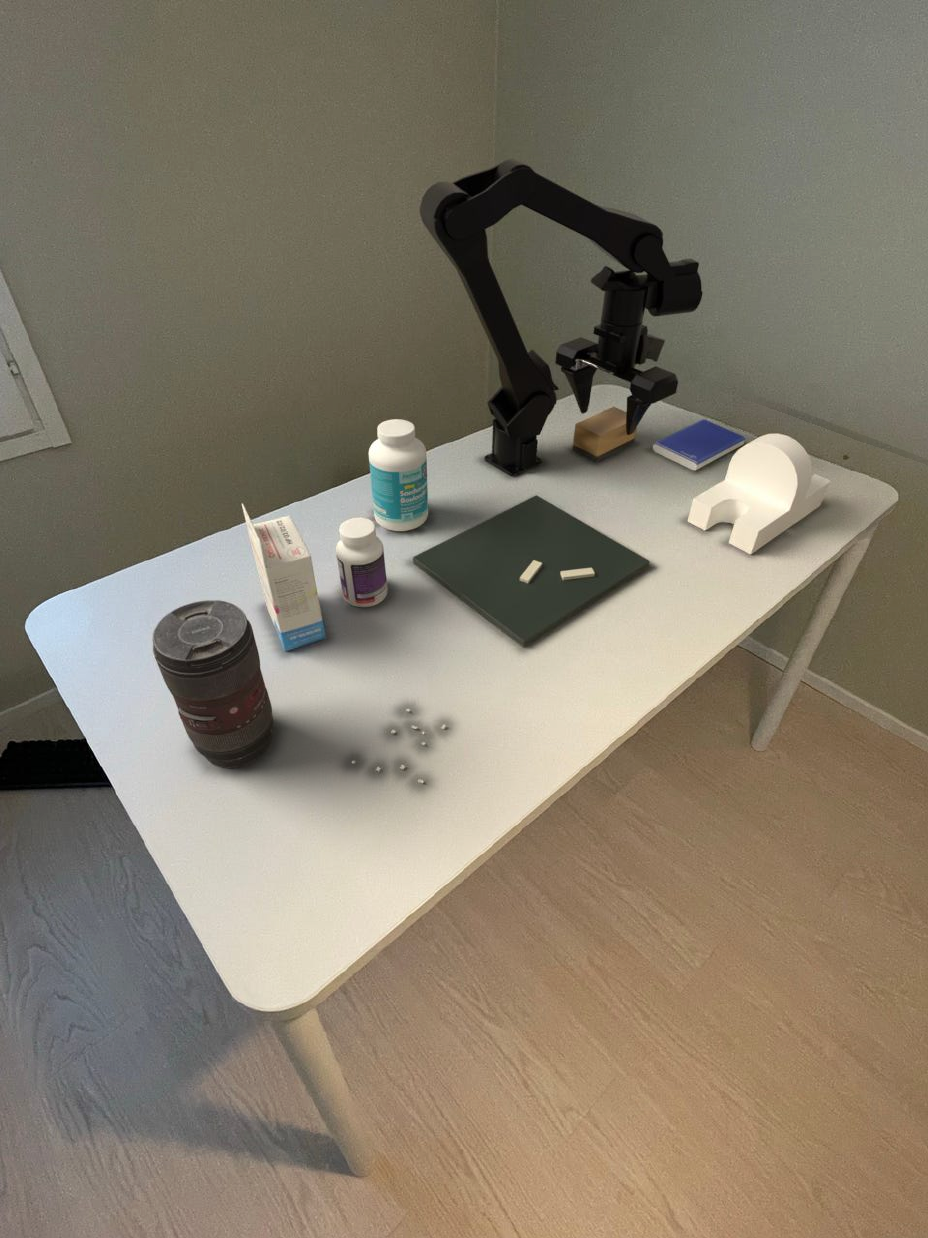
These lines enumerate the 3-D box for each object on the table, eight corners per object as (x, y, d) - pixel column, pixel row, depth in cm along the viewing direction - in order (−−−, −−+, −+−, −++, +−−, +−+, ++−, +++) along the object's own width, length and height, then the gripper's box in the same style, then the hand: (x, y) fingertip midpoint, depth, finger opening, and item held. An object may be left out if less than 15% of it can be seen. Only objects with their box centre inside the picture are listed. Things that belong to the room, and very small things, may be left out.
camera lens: (293, 749, 68) (263, 638, 58) (210, 788, 65) (163, 677, 54) (262, 696, 73) (230, 584, 63) (184, 730, 70) (137, 618, 59)
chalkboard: (413, 563, 89) (412, 557, 89) (536, 500, 100) (536, 494, 99) (523, 647, 78) (523, 641, 77) (648, 567, 89) (650, 561, 88)
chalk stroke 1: (528, 583, 85) (528, 580, 84) (519, 580, 85) (519, 577, 85) (542, 565, 87) (542, 562, 87) (533, 562, 88) (533, 559, 87)
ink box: (328, 639, 79) (308, 531, 69) (284, 653, 77) (258, 544, 67) (306, 594, 85) (285, 489, 75) (265, 607, 83) (238, 500, 73)
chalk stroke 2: (563, 580, 85) (563, 577, 85) (560, 574, 86) (560, 571, 86) (594, 576, 86) (595, 573, 85) (591, 570, 87) (591, 567, 86)
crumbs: (390, 703, 72) (390, 702, 72) (454, 724, 70) (454, 723, 70) (351, 762, 66) (351, 762, 66) (420, 787, 64) (420, 787, 64)
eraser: (572, 450, 110) (575, 423, 107) (609, 432, 115) (613, 406, 112) (596, 462, 108) (600, 435, 105) (634, 443, 112) (638, 417, 109)
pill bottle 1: (396, 586, 86) (390, 520, 79) (373, 613, 82) (365, 546, 76) (357, 575, 87) (349, 509, 81) (334, 601, 84) (323, 534, 77)
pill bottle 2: (409, 539, 93) (403, 447, 84) (363, 523, 96) (353, 432, 86) (439, 512, 98) (436, 422, 89) (394, 497, 100) (387, 408, 91)
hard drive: (697, 462, 105) (746, 436, 110) (654, 441, 109) (702, 417, 115) (695, 471, 106) (743, 445, 112) (652, 450, 110) (700, 426, 116)
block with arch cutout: (750, 554, 91) (776, 480, 83) (687, 521, 96) (706, 448, 89) (822, 504, 99) (851, 432, 92) (760, 476, 105) (783, 406, 97)
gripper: (713, 324, 97) (688, 428, 107) (608, 289, 107) (595, 388, 117) (662, 344, 91) (641, 452, 102) (557, 306, 102) (548, 408, 112)
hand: (606, 423), depth 108 cm, fingers open, 9 cm apart
